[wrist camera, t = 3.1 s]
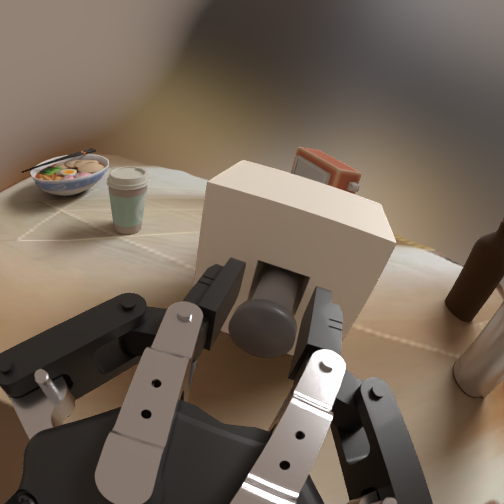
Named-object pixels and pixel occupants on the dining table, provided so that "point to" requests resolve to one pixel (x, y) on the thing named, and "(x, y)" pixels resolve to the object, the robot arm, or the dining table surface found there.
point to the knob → (267, 316)
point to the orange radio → (325, 170)
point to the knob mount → (294, 236)
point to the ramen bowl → (69, 173)
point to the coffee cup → (127, 197)
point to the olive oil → (478, 276)
